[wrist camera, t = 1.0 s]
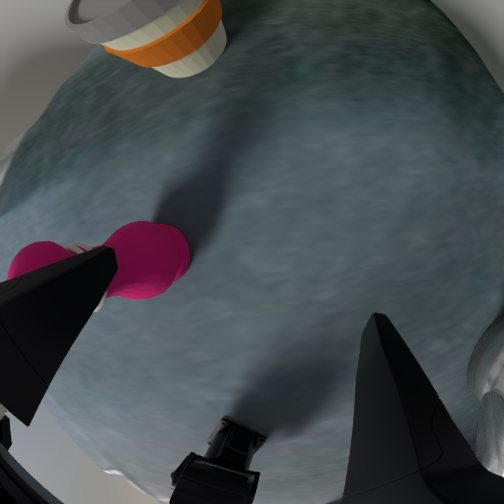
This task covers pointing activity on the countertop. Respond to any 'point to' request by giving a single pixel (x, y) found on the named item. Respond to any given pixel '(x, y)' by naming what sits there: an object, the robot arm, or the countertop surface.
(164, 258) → the pepper mill
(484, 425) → the steel lid
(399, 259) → the countertop surface
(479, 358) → the steel pot
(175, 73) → the reusable coffee cup
